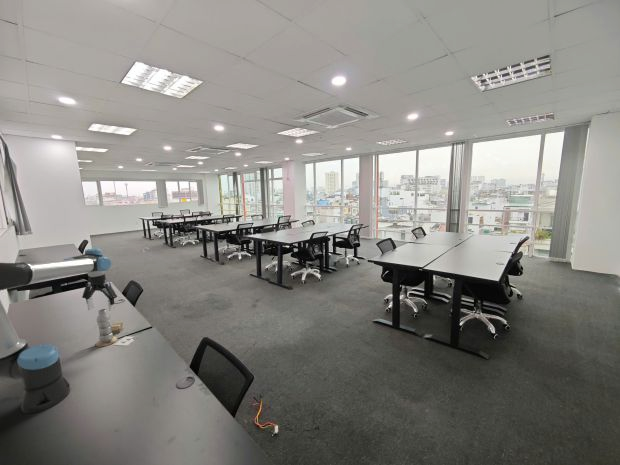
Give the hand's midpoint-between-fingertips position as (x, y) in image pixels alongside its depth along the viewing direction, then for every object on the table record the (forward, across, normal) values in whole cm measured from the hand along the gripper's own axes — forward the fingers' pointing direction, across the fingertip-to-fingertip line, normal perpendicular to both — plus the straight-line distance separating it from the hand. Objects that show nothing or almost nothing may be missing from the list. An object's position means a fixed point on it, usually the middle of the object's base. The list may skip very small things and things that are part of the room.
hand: (101, 309), depth 151 cm
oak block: (+21, +4, -13) cm, 25 cm away
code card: (+21, -11, -3) cm, 24 cm away
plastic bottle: (+21, 0, -1) cm, 21 cm away
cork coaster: (+21, 0, -1) cm, 21 cm away
